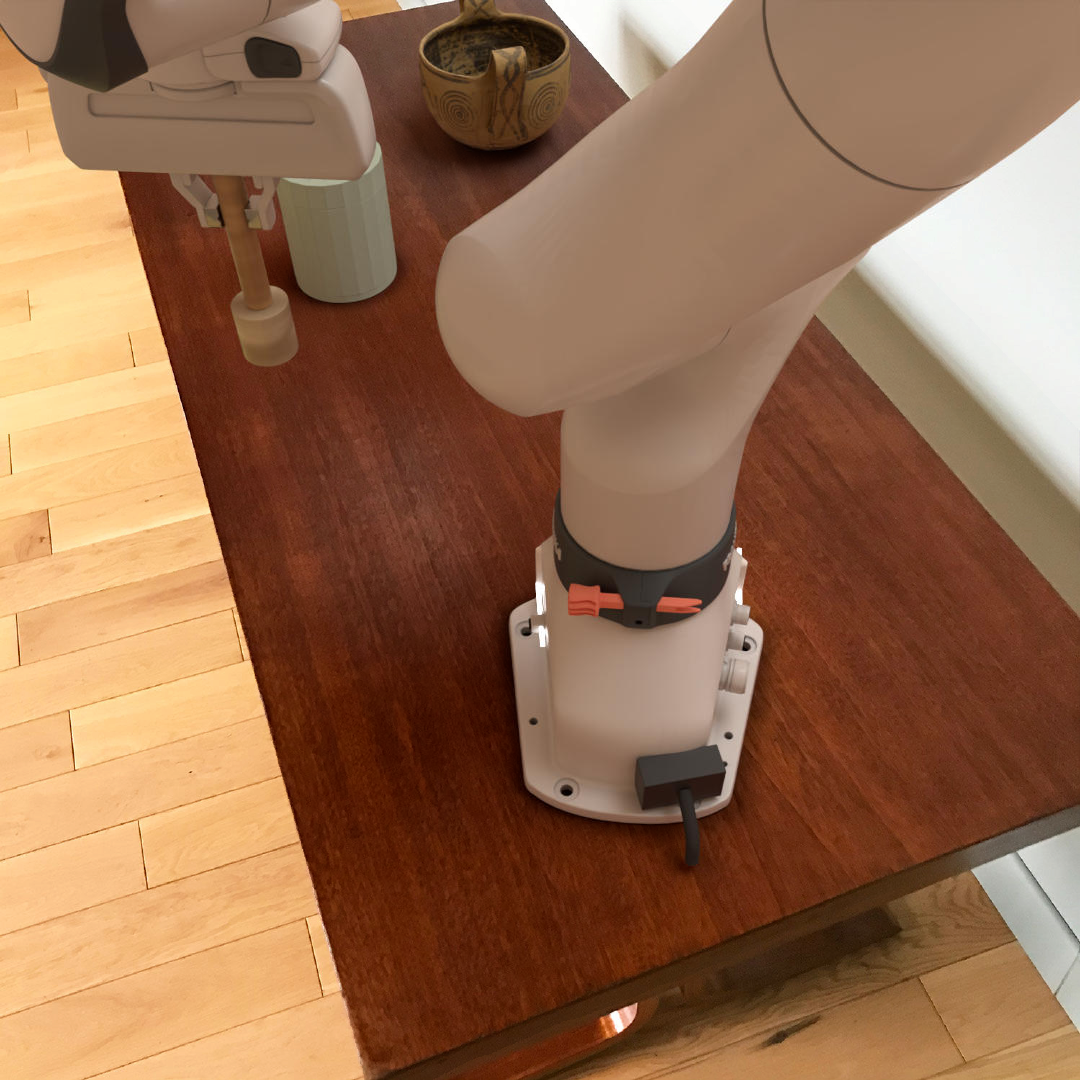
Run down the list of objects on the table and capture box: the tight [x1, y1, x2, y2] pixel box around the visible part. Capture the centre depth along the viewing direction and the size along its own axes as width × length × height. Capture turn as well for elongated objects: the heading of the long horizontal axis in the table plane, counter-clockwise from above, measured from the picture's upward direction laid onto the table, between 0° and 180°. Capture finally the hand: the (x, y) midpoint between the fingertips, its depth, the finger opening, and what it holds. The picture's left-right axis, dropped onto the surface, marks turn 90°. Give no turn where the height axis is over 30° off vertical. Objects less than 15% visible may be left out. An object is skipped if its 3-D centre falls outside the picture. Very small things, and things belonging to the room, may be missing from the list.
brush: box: [210, 175, 300, 368], centre depth 79 cm, size 4×4×17 cm
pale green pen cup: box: [276, 140, 398, 304], centre depth 109 cm, size 10×10×13 cm
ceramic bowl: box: [418, 0, 572, 151], centre depth 125 cm, size 22×17×15 cm
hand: (239, 224), depth 77 cm, fingers closed on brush, 2 cm apart
